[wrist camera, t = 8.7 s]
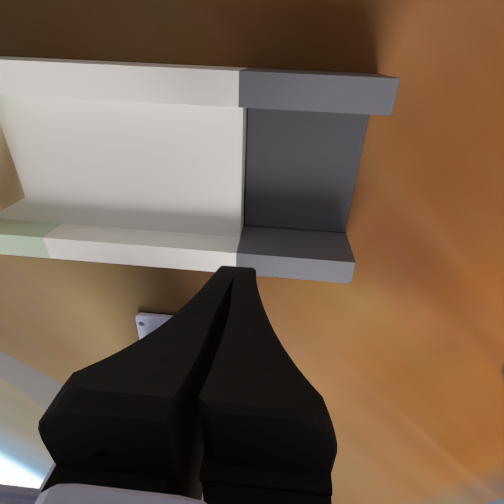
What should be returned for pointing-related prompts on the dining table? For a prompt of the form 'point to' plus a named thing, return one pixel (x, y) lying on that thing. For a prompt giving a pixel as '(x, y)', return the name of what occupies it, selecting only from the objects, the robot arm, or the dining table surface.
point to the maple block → (8, 177)
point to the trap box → (161, 163)
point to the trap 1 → (302, 168)
